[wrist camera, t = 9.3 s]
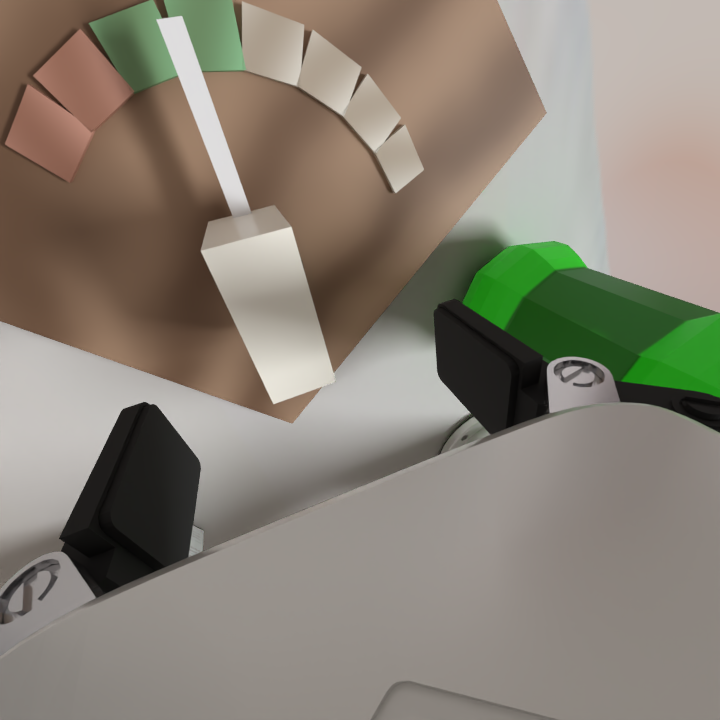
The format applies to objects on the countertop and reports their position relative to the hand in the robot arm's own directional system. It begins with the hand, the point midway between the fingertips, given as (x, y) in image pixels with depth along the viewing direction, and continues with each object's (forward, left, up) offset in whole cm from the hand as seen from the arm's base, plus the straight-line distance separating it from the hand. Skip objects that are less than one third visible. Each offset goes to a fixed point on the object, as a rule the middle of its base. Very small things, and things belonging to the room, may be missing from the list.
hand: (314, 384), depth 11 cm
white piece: (+3, -2, -10) cm, 11 cm away
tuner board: (+3, -4, -13) cm, 14 cm away
